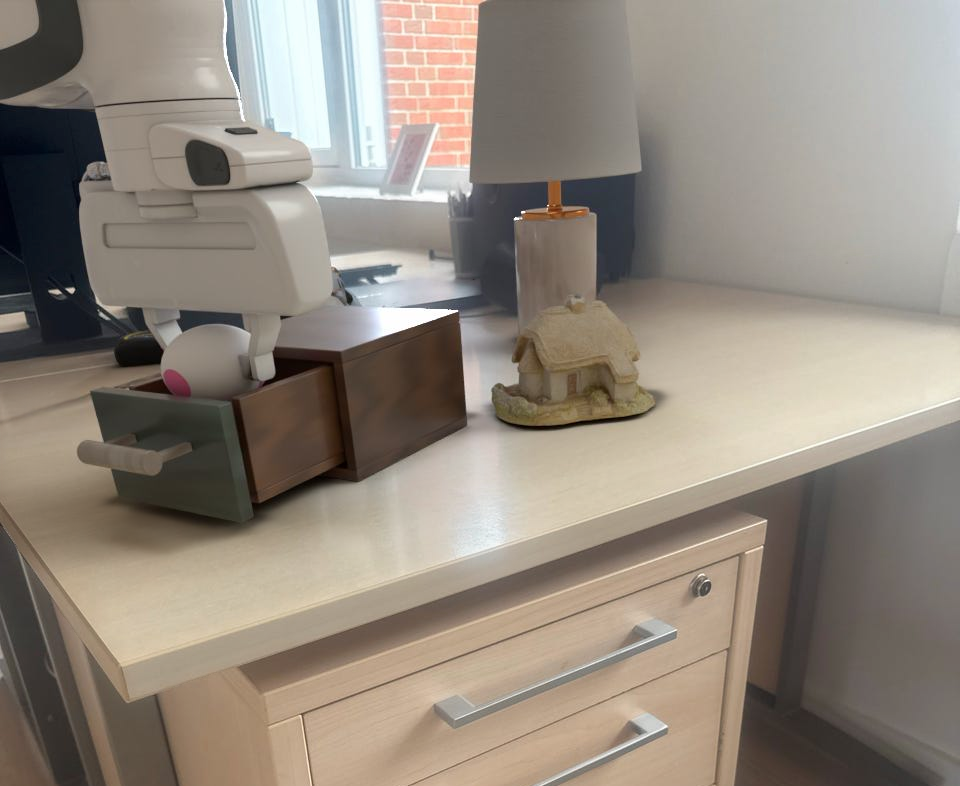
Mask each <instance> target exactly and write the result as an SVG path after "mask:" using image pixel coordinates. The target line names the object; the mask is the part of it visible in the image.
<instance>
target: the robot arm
mask: <svg viewBox="0 0 960 786" xmlns="http://www.w3.org/2000/svg"><path fill="white" fill-rule="evenodd" d="M227 22H228V16H227V9H226V4H225V0H0V104H3V105H8V106H14V107H15V106H16V107H37V108H43V109H55V110H57V109H58V110H59V109H60V110H61V109H63V110H65V109H66V110H69V109H70V110H76V109H77V110H82V111H85V112H91V113H95V115H96V119H97V123H98V128H99V133H100V137H101V141H102V145H103V151H104V154H105V158H106V162H104V161H93V162H91V163H89V164H88V165H87V166H86V171H85V172H84V173H83V175H82V178H81V181H80V182H79V183H78V185H79V186H78V189H79V190H78V191H79V196H80V203H79V208H78V217H79V218H78V219H79V230H80V237H81V244H82V249H83V255H84V261H85V266H86V271H87V276H88V281H89V286H90V289H91V291H92V292H93V294H94V295H95V297H96V298H97V299H98V301H99V302H100V303H101V304H102V305H104V306H107V307H121V308H122V307H123V308H138V309H139V308H141V309H142V315H143V319H144V323H145V325H146V327H147V328H148V330H149V331H151V332H152V334H153V335H154V337H155V338H156V340H157V341H158V343H159V344H160V346H161V347H162V348H163V349H164V350H165V349H166V348H167V346H168V345H169V344H170V343H171V341H172V340H173V339H175V338H176V337H177V336H178V335H180V334H181V333H183V331H182V329H181V327H180V326H179V323H178V321H177V320H180V319H181V313H180V312H181V311H191V312H192V311H193V312H194V311H195V312H210V313H225V314H226V313H229V314H241V319H242V322H243V330H251V336H250V342H249V347H248V353H245V354H241V355H239V359H240V365H241V366H242V368H243V369H242V375H243V377H244V378H245V379H246V380H252V381H261V382H263V381H265V380H268V379H271V378H273V377H274V375H275V366H274V360H273V354H272V351H273V350H274V347H275V344H276V341H277V338H278V334H279V331H280V328H281V321H280V316H299V315H303V314H307V313H311V312H314V311H317V310H321V309H323V308H325V307H326V305H327V303H328V301H329V299H330V296H331V294H332V290H333V278H332V269H331V267H332V262H331V256H330V254H331V253H330V248H329V242H328V237H327V230H326V225H325V220H324V217H323V213H322V210H321V206H320V204H319V202H318V199H317V198H316V196H315V195H314V192H313V191H312V190H311V189H310V188H309V187H307V186H306V185H304V184H302V182H307V181H309V180H310V179H311V178H312V177H313V172H314V164H313V163H314V162H313V156H312V152H311V148H310V147H309V146H308V145H307V144H306V143H305V142H303V141H301V140H299V139H296V138H293V137H291V136H288V135H285V134H283V133H280V132H277V131H275V130H274V129H273V130H272V129H270V128H267V127H265V126H263V125H260V124H259V123H256V122H254V121H252V120H249V119H244V115H243V109H242V101H241V100H240V99H241V96H240V92H239V89H238V86H237V83H236V82H235V78H234V77H233V73H232V72H231V71H232V70H231V69H230V65H229V60H228V55H227V45H226V36H227V35H226V34H227V25H228V23H227ZM90 179H91V180H90Z"/></svg>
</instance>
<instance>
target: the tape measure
mask: <svg viewBox="0 0 960 786" xmlns="http://www.w3.org/2000/svg"><path fill="white" fill-rule="evenodd" d="M113 354H114V359H115V361H116V363H118V365H119V366H120V367H121V366H122V367H128V368H129V367H136V366H137V367H139V366H148V365H156V364H157V365H158V364H161V360H162V356H163V354H164V350H163V349H162V347H161V346H160V344H159V343H158V341H157V340H156V338H155V337H154V335H153V334H152V332H151V331H150V330H144V331H137V332H136V331H135V332H131V333H128V334H124V335H123V336H120V337H119V338H117V340H116V346H115V347H114V350H113Z"/></svg>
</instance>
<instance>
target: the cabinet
mask: <svg viewBox="0 0 960 786" xmlns="http://www.w3.org/2000/svg"><path fill="white" fill-rule="evenodd" d="M460 318H461V317H460V310H451V309H449V310H448V309H429V308H428V309H426V308H404V307H403V308H401V307H379V306H363V307H358V306H335V305H333V306H329V307H325V308H323V309H321V310H317V311H314V312H311V313H307V314H303V315H299V316H294V317H290V318H286V319H283V320H280V321H281V328H280V331H279V334H278V338H277V341H276V344H275V347H274V350H273V351H272V354H273V358H280V359H292V360H305V361H317V362H329V363H333V365H334V372H335V379H336V386H337V394H338V401H339V408H340V415H341V422H342V429H343V437H344V444H345V451H346V458H347V461H346V462H343V463H341V464H339V465H337V466H335V467H333V468H331V469H329V470H327V471H325V472H323V473H321V474H319V475H318V476H321V477H327V478H333V479H339V480H347V481H352V482H361V481H363V480H364V479H366V478H368V477H370V476H372V475H374V474H376V473H378V472H380V471H382V470H383V469H385V468H388V467H390V466H392V465H393V464H395V463H397V462H399V461H401V460H403V459H405V458H407V457H408V456H409V457H410V456H411V455H412V454H414V453H416V452H419V451H420V450H422V449H424V448H426V447H428V446H430V445H432V444H434V443H435V442H437V441H439V440H441V439H443V438H445V437H447V436H449V435H451V434H453V433H455V432H457V431H458V430H459V431H460V430H461V429H463V428H464V427H466V426H468V416H467V414H468V413H467V400H466V387H465V371H464V359H463V356H464V355H463V344H462V343H463V342H462V330H461V329H462V328H461V319H460ZM244 330H245V329H244ZM245 331H247V332H248V333H250V334H251V330H245Z"/></svg>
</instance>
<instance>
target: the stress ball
mask: <svg viewBox="0 0 960 786" xmlns="http://www.w3.org/2000/svg"><path fill="white" fill-rule="evenodd" d="M250 336H251V334H250V333H248V332H247V331H245V329H244V328H240V327H237V326H234V325H230V324H224V323H208V324H202V325H198V326H194V327H191V328H189V329H187V330H184V331H182V333H181V334H180V335H178V336H177V337H176V338H175V339H173V340H172V341H171V343H170V344H169V345H168V346H167V348H166V349H165V350H164V349H163V348H162V349H163V350H164V354H163V356H162V360H161V363H160V373H161V376H162V378H163V380H164V383H165V384H166V386H167V387H168V389H169V390H170V391H171V392H172V393H173V394H174V395H176V396H185V397H194V398H202V399H211V400H219V401H228V402H231V403H232V401H231V398H232V397H235V396H238V395H241V394H244V393H247V392H249V391H252V390H255V389H258V388H261V386H262V385H263V383H264V382H265V381H263V382H261V381H252V380H246V379H245V378H244V377H243V375H242V369H243V368H242V366H241V365H240V359H239V355H241V354H245V353H248V347H249V342H250ZM232 409H233V406H232ZM233 414H234V411H233Z"/></svg>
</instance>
